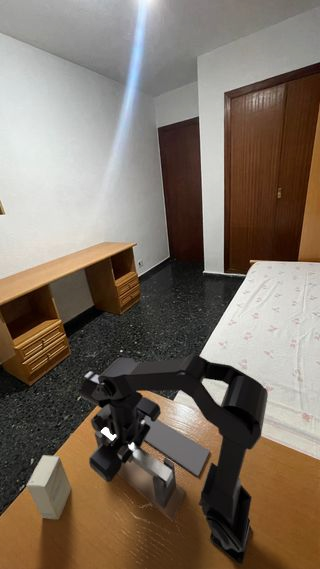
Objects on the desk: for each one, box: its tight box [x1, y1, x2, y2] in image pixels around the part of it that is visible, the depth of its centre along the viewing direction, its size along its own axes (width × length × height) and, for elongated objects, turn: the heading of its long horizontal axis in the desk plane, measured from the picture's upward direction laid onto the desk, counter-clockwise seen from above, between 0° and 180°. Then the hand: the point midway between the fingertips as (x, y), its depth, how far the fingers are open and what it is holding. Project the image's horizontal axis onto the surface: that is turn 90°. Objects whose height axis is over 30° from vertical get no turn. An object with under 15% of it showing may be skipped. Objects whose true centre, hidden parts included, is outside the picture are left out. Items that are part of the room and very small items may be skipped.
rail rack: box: [93, 430, 187, 522], centre depth 57 cm, size 26×6×10 cm, turn 55°
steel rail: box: [99, 428, 173, 487], centre depth 56 cm, size 22×2×2 cm, turn 55°
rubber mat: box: [144, 415, 211, 478], centre depth 67 cm, size 28×7×1 cm, turn 55°
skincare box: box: [25, 454, 72, 520], centre depth 52 cm, size 6×4×12 cm
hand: (133, 456), depth 56 cm, fingers closed on steel rail, 2 cm apart
